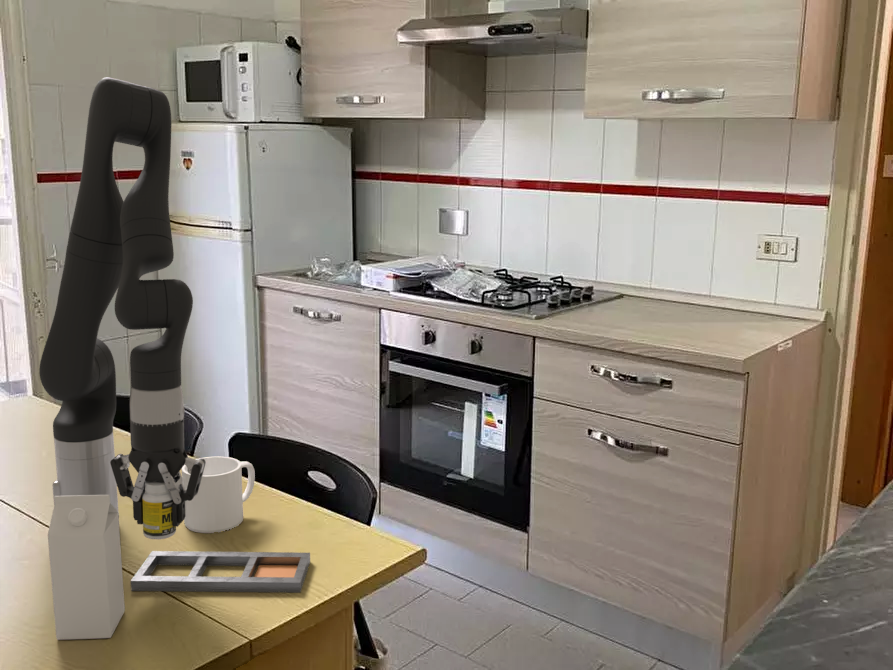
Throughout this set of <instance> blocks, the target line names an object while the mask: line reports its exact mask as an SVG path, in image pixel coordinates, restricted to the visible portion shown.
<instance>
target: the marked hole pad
mask: <svg viewBox="0 0 893 670" xmlns="http://www.w3.org/2000/svg"><path fill="white" fill-rule="evenodd" d="M297 567H298V566H285V565H259V566H258V567H257V569H256V571H255V574H254V576H253V577H294V576H295V573H296V570H297Z"/></svg>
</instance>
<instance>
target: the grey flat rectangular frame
mask: <svg viewBox="0 0 893 670" xmlns="http://www.w3.org/2000/svg"><path fill="white" fill-rule="evenodd" d="M310 564H311V552H293V551H292V552H289V551H288V552H283V551H282V552H277V551H276V552H275V551H193V550H191V551H187V550H186V551H185V550H184V551H182V550H181V551H178V550H176V551H175V550H173V551H172V550H170V551H169V550H151V551H150V553H149V554H148V556H147V558H146V559H145V560H144V561H143V563H142V564H141V566H140V567H139V568H138V570H137V571H136V573H134V575H133V577H132V578H131V579H130V591H131V592H197V593H198V592H204V593H207V592H208V593H209V592H210V593H212V592H214V593H216V592H217V593H218V592H220V593H301V592H302V589H303V586H304V583H305V580H306V577H307V574H308V570H309V568H310ZM259 565H285V566H298V567H297V570H296V573H295V576H294V577H254V576H255V574H256V572H257V569H258V567H259ZM157 566H193V567H192V569H191V570H190V572H189V574H188V576H187V575H186V576H185V575H184V576H183V575H181V576H180V575H152V573H153V572H154V570H155V569H156V568H157ZM208 566H209V567H211V566H212V567H215V566H217V567H220V566H221V567H224V566H225V567H230V566H231V567H244V570H243V572H242V574H241V575H240V576H203V574H204V573H205V571H206V569H207V568H208ZM308 567H309V568H308ZM254 573H255V574H254Z"/></svg>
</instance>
